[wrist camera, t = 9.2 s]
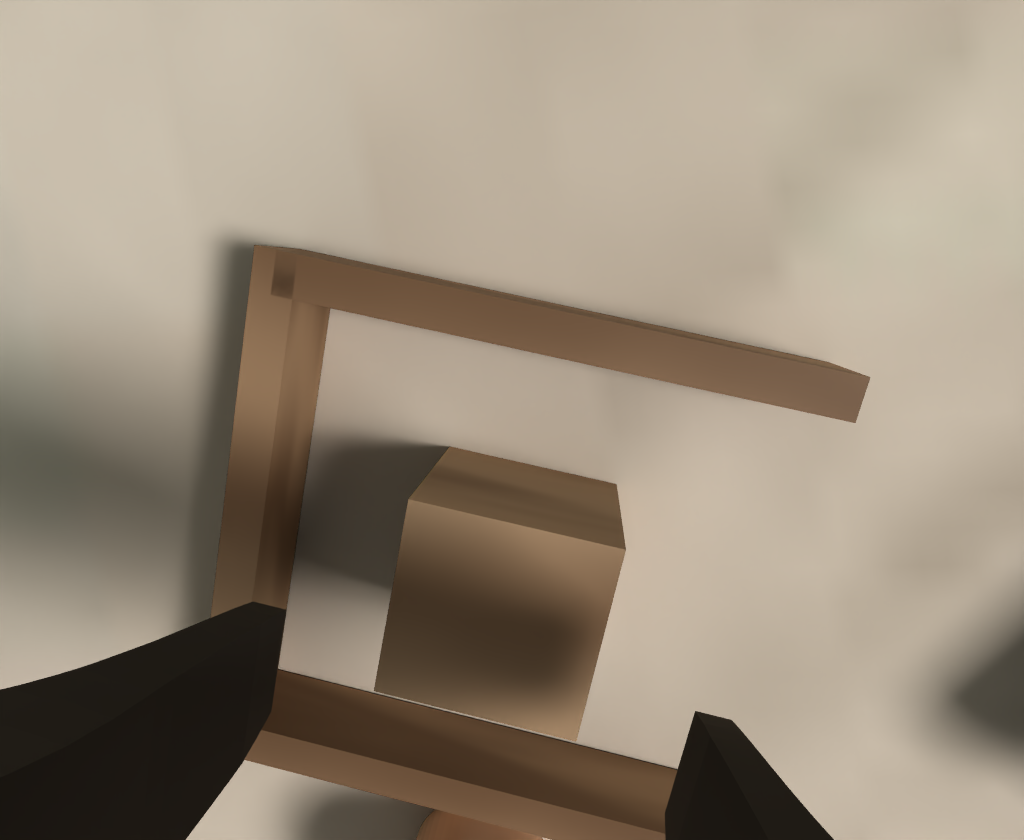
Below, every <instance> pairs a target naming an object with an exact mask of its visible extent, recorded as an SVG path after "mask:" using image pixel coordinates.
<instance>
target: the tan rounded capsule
mask: <svg viewBox="0 0 1024 840" xmlns="http://www.w3.org/2000/svg"><path fill="white" fill-rule="evenodd" d="M416 840H543V839H542V837H540V836H536V835H532V834H528V833H525V832H521V831H517V830H513V829H509V828H505V827H501V826H498V825H494V824H490V823H486V822H482V821H478V820H475V819H471V818H467V817H463V816H459V815H455V814H451V813H448V812H444V811H440V810H436V809H435V810H434V811H433V812H432V813H431V814H430V815H429V816H428V817H427V818H426V819H425V821H424V822H423V824H422V826H421V828H420V830H419V832H418V836H417V839H416Z"/></svg>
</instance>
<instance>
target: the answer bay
mask: <svg viewBox="0 0 1024 840" xmlns="http://www.w3.org/2000/svg"><path fill="white" fill-rule="evenodd" d="M330 308H333V309H337V310H342V311H346V312H351V313H355V314H360V315H365V316H369V317H374V318H378V319H383V320H387V321H392V322H396V323H401V324H406V325H410V326H415V327H419V328H424V329H428V330H433V331H438V332H442V333H447V334H451V335H456V336H460V337H465V338H470V339H474V340H479V341H483V342H488V343H492V344H497V345H502V346H506V347H511V348H515V349H520V350H524V351H529V352H533V353H538V354H543V355H547V356H552V357H556V358H561V359H565V360H570V361H575V362H579V363H584V364H588V365H593V366H597V367H602V368H607V369H611V370H616V371H620V372H625V373H629V374H634V375H638V376H643V377H648V378H652V379H657V380H661V381H666V382H670V383H675V384H680V385H684V386H689V387H693V388H698V389H702V390H707V391H712V392H716V393H721V394H725V395H730V396H734V397H739V398H744V399H748V400H753V401H757V402H762V403H766V404H771V405H775V406H780V407H785V408H789V409H794V410H798V411H803V412H807V413H812V414H817V415H821V416H826V417H830V418H835V419H839V420H844V421H849V422H853V423H856V420H857V416H858V413H859V410H860V407H861V404H862V401H863V398H864V395H865V392H866V389H867V386H868V383H869V380H870V377H868V376H865V375H862V374H860V373H857V372H854V371H851V370H849V369H846V368H843V367H840V366H838V365H835V364H832V363H829V362H825V361H820V360H815V359H811V358H806V357H801V356H797V355H792V354H787V353H783V352H778V351H773V350H769V349H764V348H759V347H755V346H750V345H745V344H741V343H736V342H731V341H727V340H722V339H717V338H713V337H708V336H703V335H699V334H694V333H689V332H685V331H680V330H675V329H671V328H666V327H661V326H657V325H652V324H647V323H643V322H638V321H633V320H629V319H624V318H619V317H615V316H610V315H606V314H601V313H596V312H592V311H587V310H582V309H578V308H573V307H568V306H564V305H559V304H554V303H550V302H545V301H540V300H536V299H531V298H526V297H522V296H517V295H512V294H508V293H503V292H498V291H494V290H489V289H484V288H480V287H475V286H470V285H466V284H461V283H456V282H452V281H447V280H442V279H438V278H433V277H428V276H424V275H419V274H414V273H410V272H405V271H400V270H396V269H391V268H386V267H382V266H377V265H372V264H368V263H363V262H358V261H354V260H349V259H344V258H340V257H335V256H330V255H326V254H321V253H316V252H312V251H307V250H302V249H294V248H283V247H272V246H260V245H254V254H253V262H252V271H251V279H250V288H249V296H248V305H247V313H246V321H245V330H244V338H243V347H242V355H241V364H240V372H239V381H238V389H237V398H236V406H235V415H234V423H233V431H232V440H231V448H230V457H229V465H228V474H227V482H226V491H225V499H224V508H223V516H222V524H221V533H220V541H219V550H218V558H217V567H216V575H215V584H214V592H213V601H212V609H211V618H212V617H214V616H217V615H219V614H221V613H224V612H226V611H229V610H231V609H234V608H236V607H239V606H241V605H244V604H247V603H250V602H257V603H261V604H266V605H270V606H274V607H278V608H282V609H286V610H287V603H288V596H289V589H290V582H291V575H292V568H293V561H294V555H295V548H296V541H297V534H298V527H299V520H300V513H301V506H302V499H303V493H304V486H305V479H306V472H307V465H308V458H309V451H310V444H311V437H312V430H313V424H314V417H315V410H316V403H317V396H318V389H319V382H320V375H321V368H322V362H323V355H324V348H325V341H326V334H327V327H328V320H329V313H330ZM285 617H286V616H285ZM284 623H285V622H284ZM283 630H284V629H283ZM282 637H283V636H282ZM281 644H282V643H281ZM280 651H281V649H280ZM279 658H280V656H279ZM278 665H279V663H278ZM244 760H248V761H251V762H255V763H259V764H263V765H267V766H271V767H274V768H278V769H282V770H286V771H290V772H294V773H298V774H301V775H305V776H309V777H313V778H317V779H321V780H324V781H328V782H332V783H336V784H340V785H344V786H348V787H351V788H355V789H359V790H363V791H367V792H371V793H375V794H378V795H382V796H386V797H390V798H394V799H398V800H401V801H405V802H409V803H413V804H417V805H421V806H425V807H428V808H432V809H436V810H440V811H444V812H448V813H451V814H455V815H459V816H463V817H467V818H471V819H475V820H478V821H482V822H486V823H490V824H494V825H498V826H501V827H505V828H509V829H513V830H517V831H521V832H525V833H528V834H532V835H536V836H540V837H544V838H548V839H552V840H666V838H665V810H666V807H667V804H668V800H669V797H670V794H671V790H672V787H673V784H674V780H675V777H676V774H677V770H675V769H671V768H667V767H663V766H659V765H655V764H651V763H647V762H643V761H639V760H635V759H631V758H627V757H623V756H619V755H615V754H611V753H607V752H603V751H599V750H595V749H591V748H588V747H584V746H580V745H576V744H572V743H568V742H564V741H560V740H556V739H552V738H548V737H544V736H540V735H536V734H532V733H528V732H524V731H520V730H516V729H512V728H508V727H504V726H500V725H496V724H492V723H488V722H484V721H480V720H476V719H472V718H468V717H464V716H460V715H456V714H452V713H448V712H444V711H440V710H436V709H432V708H428V707H424V706H420V705H416V704H412V703H408V702H404V701H401V700H397V699H393V698H389V697H385V696H381V695H377V694H373V693H369V692H365V691H361V690H357V689H353V688H349V687H345V686H341V685H337V684H333V683H329V682H325V681H321V680H317V679H313V678H309V677H305V676H301V675H297V674H293V673H289V672H285V671H281V670H277V677H276V683H275V690H274V697H273V704H272V710H271V713H270V715H269V717H268V719H267V720H266V722H265V724H264V726H263V728H262V729H261V731H260V733H259V735H258V737H257V739H256V740H255V742H254V744H253V745H252V747H251V749H250V751H249V752H248V754H247V756H246V757H245V759H244Z"/></svg>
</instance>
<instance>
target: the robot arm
mask: <svg viewBox="0 0 1024 840" xmlns="http://www.w3.org/2000/svg"><path fill="white" fill-rule="evenodd" d="M285 616H286V609H282V608H278V607H274V606H270V605H266V604H261V603H257V602H250V603H247V604H244V605H241V606H239V607H236V608H234V609H231V610H229V611H226V612H224V613H221V614H219V615H217V616H214V617H212V618H209V619H207V620H205V621H202V622H200V623H198V624H195V625H193V626H190V627H188V628H185V629H183V630H180V631H178V632H176V633H173V634H171V635H168V636H166V637H163V638H161V639H159V640H156V641H154V642H151V643H148V644H145V645H143V646H140V647H137V648H134V649H132V650H129V651H126V652H123V653H121V654H118V655H115V656H112V657H110V658H107V659H104V660H101V661H99V662H96V663H93V664H90V665H87V666H84V667H81V668H78V669H75V670H71V671H68V672H65V673H61V674H58V675H55V676H51V677H47V678H44V679H40V680H36V681H33V682H29V683H26V684H22V685H18V686H14V687H10V688H6V689H1V690H0V840H186V838H187V837H188V836H189V834H190V833H191V832H192V830H193V829H194V828H195V826H196V825H197V824H198V822H199V821H200V820H201V818H202V817H203V816H204V814H205V813H206V812H207V810H208V809H209V808H210V806H211V805H212V804H213V802H214V801H215V800H216V798H217V797H218V795H219V794H220V793H221V791H222V790H223V789H224V787H225V786H226V785H227V783H228V782H229V781H230V779H231V778H232V777H233V775H234V774H235V772H236V771H237V770H238V768H239V767H240V765H241V764H242V763H243V761H244V759H245V757H246V756H247V754H248V752H249V751H250V749H251V747H252V745H253V744H254V742H255V740H256V739H257V737H258V735H259V733H260V731H261V729H262V728H263V726H264V724H265V722H266V720H267V719H268V717H269V715H270V713H271V710H272V704H273V697H274V690H275V683H276V677H277V670H278V663H279V656H280V649H281V643H282V636H283V629H284V622H285ZM665 838H666V840H834V839H833V838H832V837H831V836H830V835H829V834H828V833H827V832H826V830H825V829H824V828H823V827H822V826H821V825H820V824H819V823H818V822H817V820H816V819H815V818H814V817H813V816H812V815H811V814H810V812H809V811H808V810H807V809H806V808H805V807H804V806H803V804H802V803H801V802H800V801H799V800H798V799H797V797H796V796H795V795H794V794H793V793H792V791H791V790H790V789H789V788H788V787H787V785H786V784H785V783H784V782H783V781H782V779H781V778H780V777H779V776H778V775H777V773H776V772H775V771H774V770H773V769H772V767H771V766H770V765H769V764H768V762H767V761H766V760H765V759H764V758H763V756H762V755H761V754H760V753H759V751H758V750H757V749H756V748H755V747H754V745H753V744H752V743H751V742H750V741H749V739H748V738H747V737H746V736H745V735H744V733H743V732H742V731H741V730H740V729H739V728H738V727H737V725H736V724H735V723H734V722H733V721H732V720H729V719H725V718H721V717H717V716H713V715H709V714H705V713H701V712H697V711H695V714H694V717H693V720H692V724H691V727H690V730H689V734H688V737H687V740H686V744H685V747H684V750H683V754H682V757H681V760H680V764H679V767H678V770H677V774H676V777H675V780H674V784H673V787H672V790H671V794H670V797H669V800H668V804H667V807H666V810H665Z"/></svg>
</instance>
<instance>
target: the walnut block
mask: <svg viewBox="0 0 1024 840" xmlns="http://www.w3.org/2000/svg"><path fill="white" fill-rule="evenodd" d="M625 551H626V547H625V540H624V533H623V526H622V519H621V512H620V505H619V498H618V491H617V485H616V484H613V483H608V482H604V481H600V480H595V479H591V478H586V477H582V476H578V475H573V474H569V473H564V472H560V471H556V470H551V469H547V468H542V467H538V466H533V465H529V464H525V463H520V462H516V461H511V460H507V459H503V458H498V457H494V456H489V455H485V454H481V453H476V452H472V451H467V450H463V449H459V448H454V447H449V448H448V449H447V451H446V452H445V453H444V455H443V456H442V457H441V458H440V460H439V461H438V462H437V463H436V465H435V466H434V467H433V468H432V470H431V471H430V472H429V474H428V475H427V476H426V477H425V479H424V480H423V481H422V482H421V484H420V485H419V486H418V487H417V489H416V490H415V491H414V493H413V494H412V495H411V496H410V498H409V499H408V504H407V509H406V515H405V520H404V526H403V531H402V537H401V543H400V548H399V554H398V559H397V565H396V570H395V576H394V582H393V587H392V593H391V598H390V604H389V609H388V615H387V621H386V626H385V632H384V637H383V643H382V648H381V654H380V660H379V665H378V671H377V676H376V682H375V687H374V691H376V692H380V693H384V694H388V695H392V696H396V697H400V698H404V699H408V700H412V701H416V702H420V703H424V704H428V705H432V706H436V707H440V708H444V709H448V710H452V711H456V712H460V713H464V714H468V715H472V716H476V717H480V718H484V719H488V720H492V721H496V722H500V723H504V724H508V725H512V726H516V727H520V728H524V729H528V730H532V731H536V732H540V733H544V734H548V735H552V736H556V737H560V738H564V739H568V740H572V741H576V740H577V736H578V732H579V729H580V725H581V721H582V717H583V713H584V709H585V705H586V702H587V698H588V694H589V690H590V686H591V682H592V678H593V675H594V671H595V667H596V663H597V659H598V655H599V651H600V648H601V644H602V640H603V636H604V632H605V628H606V624H607V621H608V617H609V613H610V609H611V605H612V601H613V597H614V594H615V590H616V586H617V582H618V578H619V574H620V570H621V567H622V563H623V559H624V555H625Z"/></svg>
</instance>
